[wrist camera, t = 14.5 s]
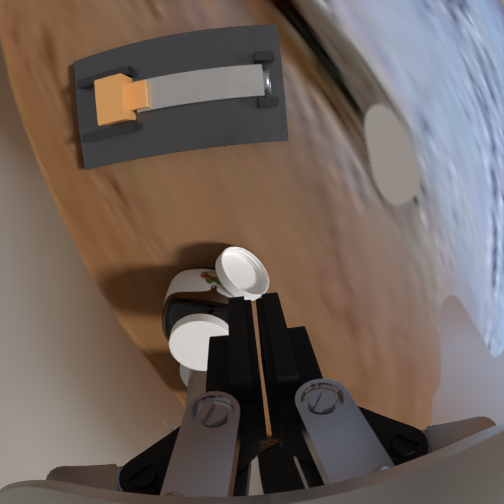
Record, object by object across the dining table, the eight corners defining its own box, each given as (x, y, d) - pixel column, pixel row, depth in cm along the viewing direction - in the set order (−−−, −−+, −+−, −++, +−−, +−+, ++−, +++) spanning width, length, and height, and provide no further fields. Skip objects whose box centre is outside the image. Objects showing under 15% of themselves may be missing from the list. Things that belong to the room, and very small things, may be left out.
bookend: (256, 478, 63) (263, 554, 42) (225, 467, 60) (227, 551, 38) (330, 441, 58) (354, 528, 37) (301, 428, 55) (323, 527, 33)
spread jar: (168, 308, 41) (152, 365, 31) (176, 232, 37) (156, 275, 27) (253, 321, 43) (260, 380, 32) (271, 248, 39) (287, 296, 28)
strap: (270, 95, 30) (272, 94, 29) (139, 112, 30) (136, 112, 29) (268, 65, 29) (269, 63, 28) (136, 82, 28) (133, 81, 27)
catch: (152, 116, 30) (143, 115, 27) (112, 125, 30) (98, 125, 26) (149, 74, 28) (139, 68, 25) (108, 84, 28) (94, 80, 24)
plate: (285, 139, 34) (291, 141, 31) (90, 168, 33) (77, 172, 30) (275, 28, 28) (279, 19, 25) (79, 63, 28) (66, 58, 25)
